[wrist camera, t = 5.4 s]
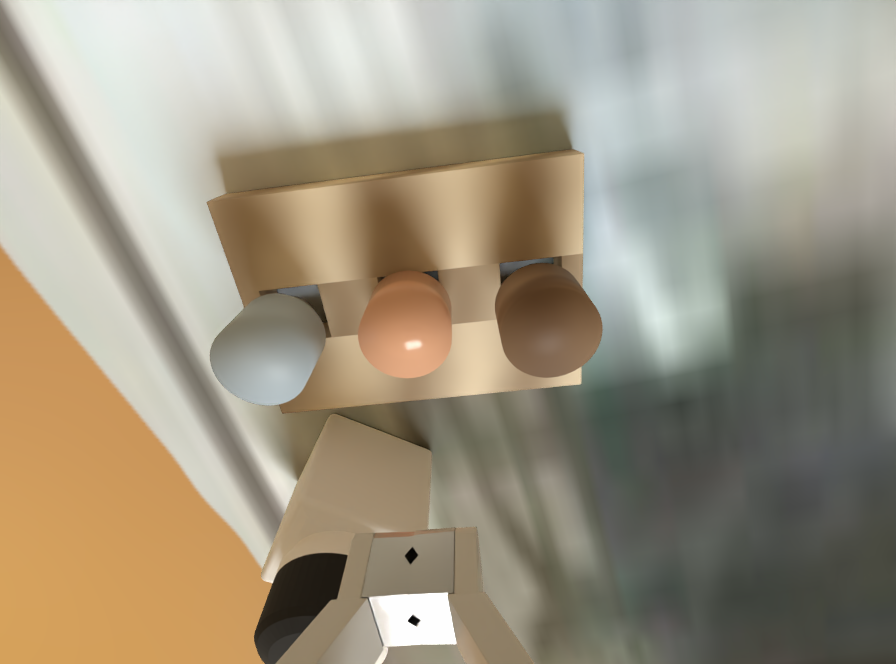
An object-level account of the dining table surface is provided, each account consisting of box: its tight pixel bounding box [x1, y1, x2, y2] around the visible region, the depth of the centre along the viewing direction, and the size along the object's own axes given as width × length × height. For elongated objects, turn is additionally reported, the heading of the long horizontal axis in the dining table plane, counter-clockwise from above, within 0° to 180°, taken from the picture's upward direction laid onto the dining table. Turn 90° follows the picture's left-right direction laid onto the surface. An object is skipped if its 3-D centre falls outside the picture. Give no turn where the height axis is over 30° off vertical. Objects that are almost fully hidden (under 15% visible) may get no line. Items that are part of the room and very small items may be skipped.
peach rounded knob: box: [358, 270, 452, 378], centre depth 22 cm, size 4×4×5 cm
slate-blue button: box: [210, 293, 326, 405], centre depth 21 cm, size 4×4×5 cm
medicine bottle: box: [254, 414, 432, 664], centre depth 25 cm, size 7×7×12 cm
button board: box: [207, 149, 584, 413], centre depth 24 cm, size 17×12×2 cm
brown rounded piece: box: [495, 263, 602, 378], centre depth 20 cm, size 4×4×5 cm
